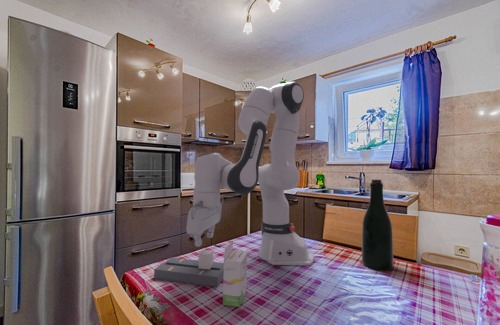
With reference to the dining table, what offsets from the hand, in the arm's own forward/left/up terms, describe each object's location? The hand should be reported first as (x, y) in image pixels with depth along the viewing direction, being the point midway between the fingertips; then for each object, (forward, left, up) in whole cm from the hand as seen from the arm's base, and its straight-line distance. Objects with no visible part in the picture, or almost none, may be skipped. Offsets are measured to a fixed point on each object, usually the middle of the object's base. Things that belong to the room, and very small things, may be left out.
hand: (204, 241), depth 73 cm
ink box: (-14, +8, -12) cm, 20 cm away
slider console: (+4, -1, -12) cm, 13 cm away
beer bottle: (-61, -25, -12) cm, 66 cm away
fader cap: (-1, -1, -10) cm, 10 cm away
